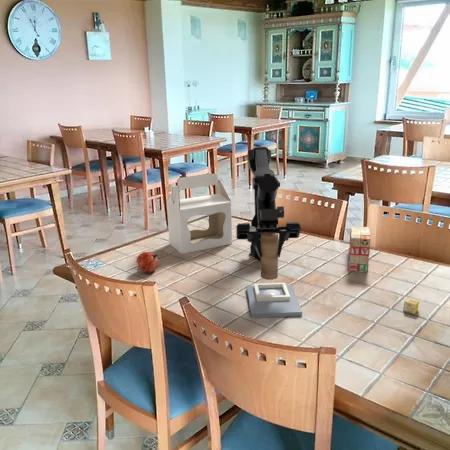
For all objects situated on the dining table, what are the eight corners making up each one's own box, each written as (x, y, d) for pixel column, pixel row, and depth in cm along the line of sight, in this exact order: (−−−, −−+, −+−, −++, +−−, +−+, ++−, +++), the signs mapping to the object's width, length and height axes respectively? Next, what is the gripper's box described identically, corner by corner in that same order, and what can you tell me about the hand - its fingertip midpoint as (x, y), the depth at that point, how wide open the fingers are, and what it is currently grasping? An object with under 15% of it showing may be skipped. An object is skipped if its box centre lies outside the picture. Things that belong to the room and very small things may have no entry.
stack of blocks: (348, 249, 175) (350, 218, 171) (365, 250, 174) (368, 219, 170) (348, 271, 155) (351, 237, 152) (368, 272, 154) (370, 238, 150)
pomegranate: (136, 281, 157) (156, 267, 152) (125, 263, 157) (144, 248, 153) (148, 275, 163) (167, 261, 159) (137, 258, 164) (156, 244, 160)
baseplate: (246, 289, 144) (246, 282, 143) (291, 287, 144) (291, 280, 143) (251, 317, 126) (251, 309, 126) (302, 315, 127) (302, 308, 126)
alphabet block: (406, 307, 130) (407, 297, 129) (418, 310, 128) (419, 300, 127) (403, 311, 128) (404, 301, 127) (414, 314, 126) (415, 304, 125)
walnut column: (260, 273, 138) (260, 232, 134) (276, 272, 138) (277, 231, 134) (261, 279, 134) (261, 237, 130) (278, 279, 134) (279, 237, 130)
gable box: (217, 235, 195) (215, 169, 187) (232, 243, 184) (231, 175, 176) (168, 244, 185) (164, 176, 177) (181, 254, 174) (177, 181, 166)
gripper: (236, 197, 133) (237, 246, 126) (300, 195, 133) (306, 244, 125) (235, 215, 143) (237, 262, 135) (295, 214, 143) (300, 260, 135)
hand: (269, 257), depth 133 cm, fingers closed on walnut column, 5 cm apart
